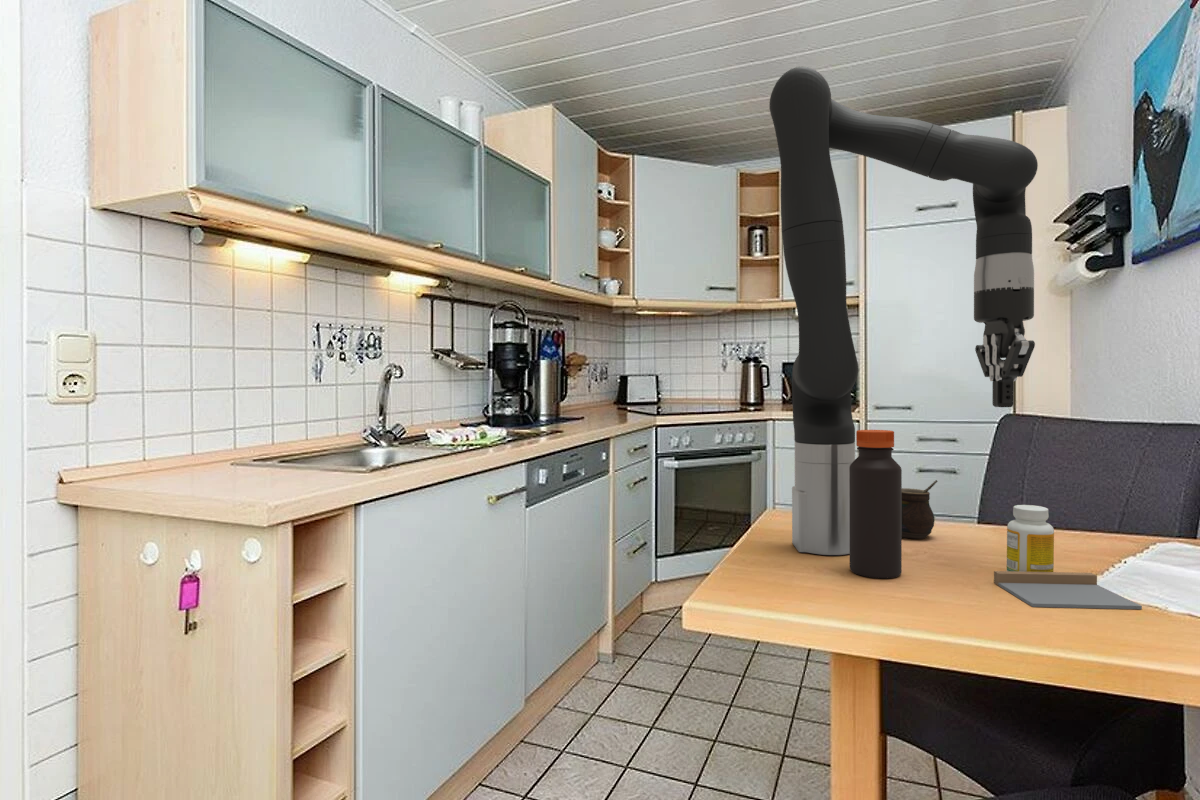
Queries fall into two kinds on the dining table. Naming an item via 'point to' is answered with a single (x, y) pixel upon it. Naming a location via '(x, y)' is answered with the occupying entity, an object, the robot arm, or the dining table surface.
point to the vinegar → (875, 507)
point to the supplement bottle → (1030, 540)
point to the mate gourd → (916, 513)
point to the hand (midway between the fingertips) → (1002, 406)
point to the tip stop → (1060, 590)
